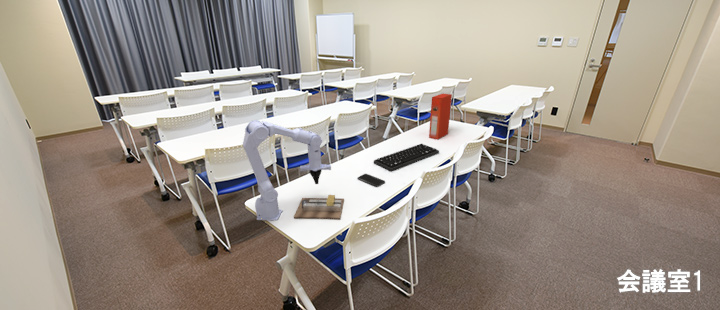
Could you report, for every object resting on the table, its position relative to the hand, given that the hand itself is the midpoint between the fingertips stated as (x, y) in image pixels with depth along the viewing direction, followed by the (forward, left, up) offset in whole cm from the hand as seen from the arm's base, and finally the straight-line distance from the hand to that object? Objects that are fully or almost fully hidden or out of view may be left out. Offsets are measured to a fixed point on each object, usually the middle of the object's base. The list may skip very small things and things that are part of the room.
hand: (316, 183), depth 140 cm
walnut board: (+3, -8, -9) cm, 13 cm away
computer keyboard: (+49, +53, -10) cm, 73 cm away
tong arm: (+5, -7, -8) cm, 12 cm away
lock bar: (+8, -9, -5) cm, 13 cm away
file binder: (+78, +98, -10) cm, 126 cm away
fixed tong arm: (+3, -9, -8) cm, 13 cm away
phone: (+26, +21, -10) cm, 35 cm away
